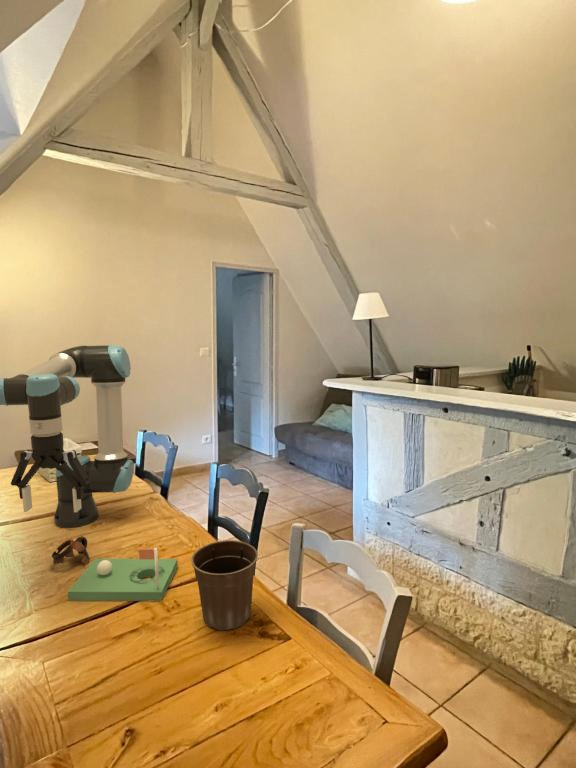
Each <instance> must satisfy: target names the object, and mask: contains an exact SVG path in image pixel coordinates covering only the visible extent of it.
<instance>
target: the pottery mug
mask: <svg viewBox="0 0 576 768" xmlns="http://www.w3.org/2000/svg"><path fill="white" fill-rule="evenodd" d="M87 547H88V539H87V538H86V537H85V536H84V535H83V536H82V535H81V536H79V537H77V538H76V539H75V540H74V539H72V538H70V539H67V540H65V541H64V542H62V543H61V544H60V545H58V546H57V547H56V550H57V551H56V550H54V551H53V552H52V553H51V558H52V560H53V564H54V565H59V564H61V565H62V564H63V565H64V564H65V561H64V560H65V558H74V557H75V554H74V550H75V551H76V552H77V553H78V555H83V558H82V559H81V563H82V564H83V566H84V567H86V566H87V564H89V561H90V560H91V558H90V555H89V553H88V551H87Z"/></svg>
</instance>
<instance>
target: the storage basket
mask: <svg viewBox="0 0 576 768" xmlns="http://www.w3.org/2000/svg"><path fill="white" fill-rule="evenodd" d="M63 443H64V445H63V450H64V451H65V452H70V451H72V450H75V451H76V455H77V456H82V453H83V449H82V446H81V445H80V444H78V443H77V442H74V441H73V440H71V439H70V438H69V437H63ZM63 459H64V460H66V457H64V458H63ZM37 472H38V473H39V474H40V476H42V477H44V479H46V481H47V482H50V483H51V482H56V468H53V469H50V468H45V469H42V468H41V467H40V468H39V469H38V471H37Z"/></svg>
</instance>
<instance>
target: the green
mask: <svg viewBox="0 0 576 768" xmlns="http://www.w3.org/2000/svg"><path fill="white" fill-rule="evenodd" d="M103 560H108V561H110V562H111V564H112V570H111V572H110V573H109V574H107V575H100V574H99V573H98V572H97V566H98V564H99V563H100V562H101V561H103ZM178 561H179V560H178V558H158V576H159V589H158V590H156V579H155V559H139V558H94V559H93V560H92V562H91V563H90V564H89V565H88V566H87V568H86V569H85V570H84V571H83V573H82V574H81V575H80V576H79V577H78V578H77V580H76V581H75V582H74V583H73V585H72V586H71V587H70V588H69V590H68V591H67V599H68V601H70V602H71V601H73V602H75V601H77V602H78V601H79V602H80V601H85V602H86V601H90V602H91V601H92V602H93V601H94V602H95V601H98V602H99V601H106V602H107V601H114V602H115V601H118V602H122V601H123V602H124V601H127V602H128V601H130V602H131V601H132V602H133V601H136V602H140V601H141V602H142V601H143V602H144V601H145V602H147V601H149V600H151V601H152V602H156V600H157V602H162V601H163V600H164V597H165V595H166V593H167V591H168V588H169V587H170V584H171V583H172V580H173V578H174V575H175V573H176V572H177V569H178V567H179V565H178V564H179V562H178ZM146 578H148V579H146ZM168 586H169V587H168ZM162 599H163V600H162ZM153 600H154V601H153ZM151 601H149V602H151Z"/></svg>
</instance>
